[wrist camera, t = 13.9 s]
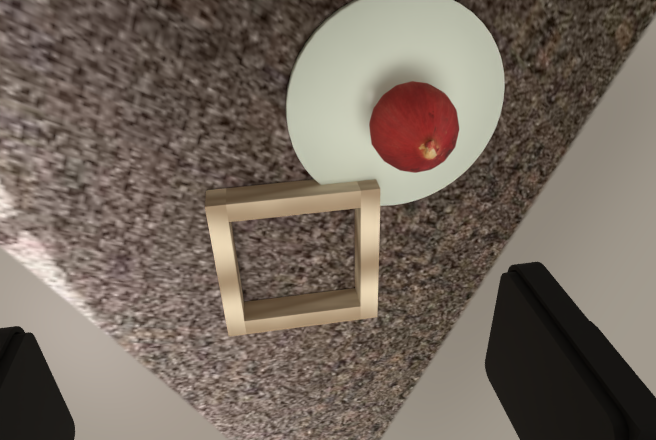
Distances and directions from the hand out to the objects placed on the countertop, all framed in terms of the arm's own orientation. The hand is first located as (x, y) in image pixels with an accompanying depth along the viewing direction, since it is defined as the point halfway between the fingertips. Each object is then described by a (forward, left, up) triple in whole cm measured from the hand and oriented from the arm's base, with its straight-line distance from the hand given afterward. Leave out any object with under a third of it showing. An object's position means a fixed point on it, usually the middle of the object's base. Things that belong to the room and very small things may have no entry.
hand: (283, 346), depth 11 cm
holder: (+18, +2, -28) cm, 34 cm away
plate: (+6, +10, -28) cm, 31 cm away
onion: (+6, +10, -28) cm, 30 cm away
